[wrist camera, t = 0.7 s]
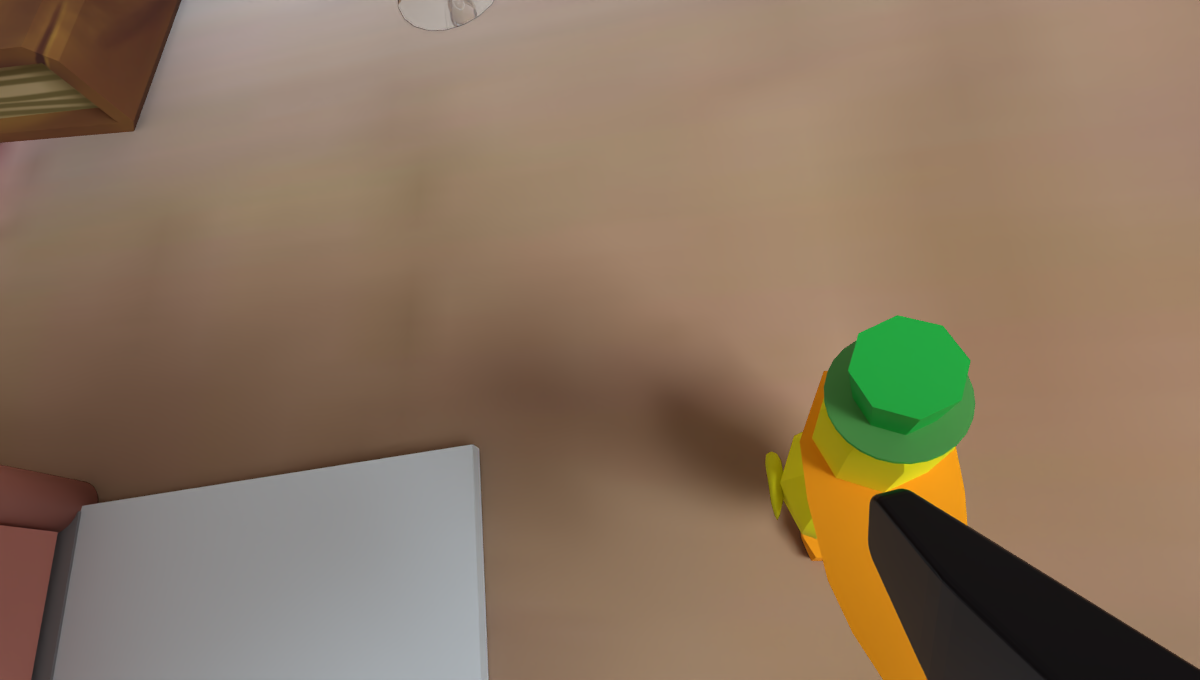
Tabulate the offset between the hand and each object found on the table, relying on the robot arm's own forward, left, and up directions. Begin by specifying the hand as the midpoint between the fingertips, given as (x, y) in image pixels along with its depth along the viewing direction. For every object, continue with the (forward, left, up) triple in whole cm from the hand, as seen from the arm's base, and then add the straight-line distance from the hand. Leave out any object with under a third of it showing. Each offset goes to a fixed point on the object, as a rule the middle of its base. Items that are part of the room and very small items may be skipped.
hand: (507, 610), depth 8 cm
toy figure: (+2, -5, -14) cm, 15 cm away
